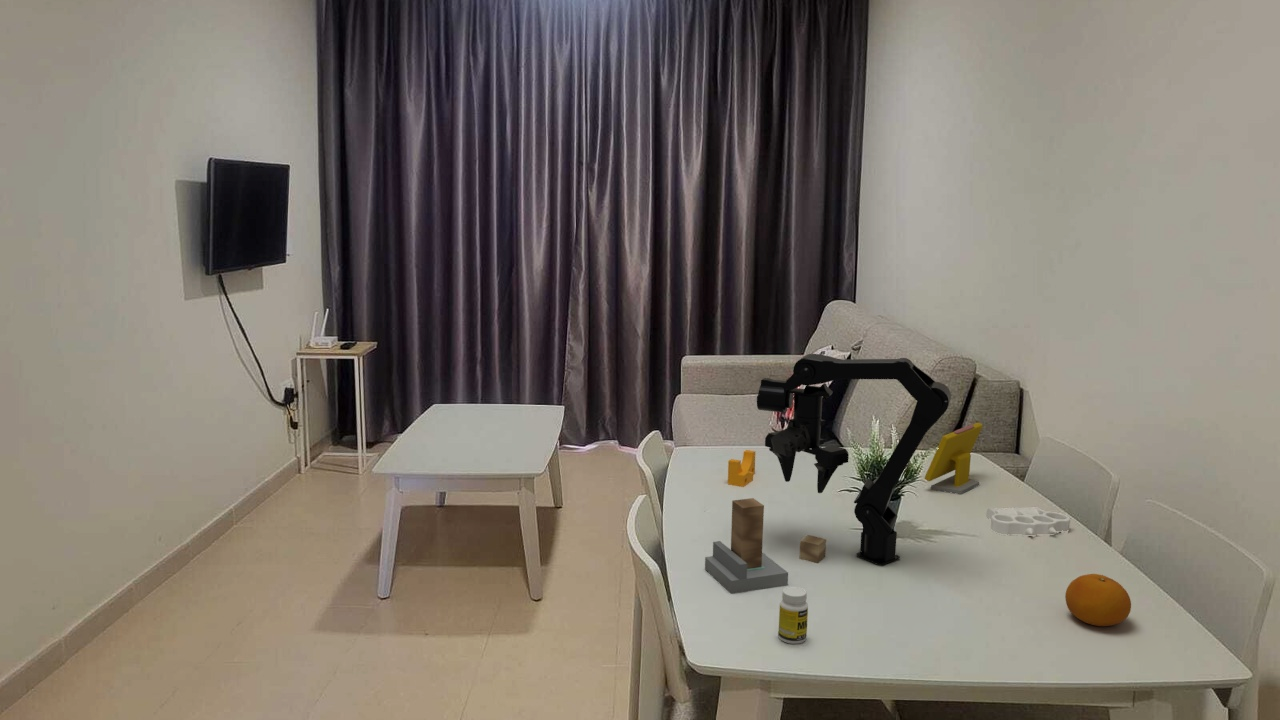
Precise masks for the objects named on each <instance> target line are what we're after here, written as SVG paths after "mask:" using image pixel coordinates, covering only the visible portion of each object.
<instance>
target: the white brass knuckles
mask: <svg viewBox="0 0 1280 720" xmlns="http://www.w3.org/2000/svg"><path fill="white" fill-rule="evenodd" d="M985 513H986V514H985V515H986V517H987V519H988V518H990V519H991V520H990V528H991V529H992V530H993V531H995V532H997V533H1001V534H1007V535H1008V534H1022V535H1037V534H1055V533H1057V532H1056V531H1062V530H1063V531H1067V530H1069V531H1070V527H1071V525H1070V524H1071V518H1070V517H1069V516H1068V515H1066V514H1064V513H1060V512H1055V511H1047V510H1043V509H1041V508H1040V507H1037V506H1031V507H1007V508H1005V507H1003V508H1000V507H999V508H996V507H990V508H987V509H986V512H985ZM991 529H990V530H991ZM993 531H992V532H993ZM997 533H996V534H997ZM1055 535H1056V534H1055Z"/></svg>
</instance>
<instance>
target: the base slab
mask: <svg viewBox="0 0 1280 720" xmlns="http://www.w3.org/2000/svg"><path fill="white" fill-rule="evenodd" d="M704 560H705V561H704V570H705V571H707V573H709V574H710V575H711V576H712V577H713V578H714V579H715V580H716V581H718V583H719V584H720V585H721V586H722V587H723V588H725V589H726V590H727V591H728V592H729V593H730V594H737V593H742V592H748V591H749V592H750V591H756V590H763V589H770V588H775V587H783V586H788V585H789V572H788V571H787V570H786V569H784V568H783V567H782V566H780V565H779V564H778V563H777V562H775V561H774V560H773V559H772V558H770V557H769V556H768V555H766V554H765V553H764V552H763V551H762V567H758V568H751V569H747V563H746V562H745V561H743V560H742V559H741V558H740V557H739V556H737V555H736V554H735V553H734V552H733V551H731V548H729V547H728V546H727V545H726V544H724V543H723V542H722V541H721V540H718V541H713V542H712V556H711V555H710V556H705V557H704Z"/></svg>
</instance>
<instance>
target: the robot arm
mask: <svg viewBox="0 0 1280 720" xmlns="http://www.w3.org/2000/svg"><path fill="white" fill-rule="evenodd" d="M792 372H793V373H792V374H791V375H790V376H789V377H788V378H787V379H786V380H778V379H773V378H769V377H767V378H766V377H763V378H762V379H761V380H760V386H759V389H758V394H757V396H756V407H757V410H759V411H763V412H764V411H768V412H775V413H787V410H789V409H792V406H793V416H792V417H793V418H789V420H788V421H787V427H786V428H785V429H782V430H777V431H774V432H768V433H767V434H766V437H765V438H764V446H765V448H766V447H767V448H768V451H770V452H772V453H773V454H774V455H775V456H776V457H777V460H778V462H779V464H780V467H781V468H780V469H781V471H782V475H783V478H784V482H787V483H788V482H790V481H791V478H792V475H793V471H794V470H793V469H794V465H795V460H796V455H797V453H800V452H804V453H807V454H810V455H813V456H814V458H815V460H816V462H815V463H813V465H814V467H815V468H816V470H817V484H816V488H817V493H818V494H822V493H823V492H824V490H825V489H826V488H827V487H826V486H827V485H828V483H829V482H830V480H831V478H832V476H833V474H834V473H835V471H836V470H837V469H838V467H841V466H843V465H844V464H847V463H849V455H850V453H849V451H848V450H847V449H846V448H844V447H841V446H837V445H833V444H832V445H827V446H824V447H822V446H821V445H824V444H825V439H824V438H821V429H822V426H823V427H824V426H826V420H825V419H822V410H823V408H822V407H823V398H829V397H830V396H831V395H832V394H833V392H834V391H833V390H832V389H831V388H829V387H828V385H827V383H828V382H833V381H838V380H897V381H898V383H900V384H901V386H902V387H903V388H904V389H905V390H906V391H907V392H908V394H909V395H910V396H911V397H912V398H913V399H914V400H916V401H917V402H916V404H915V406H914V410H913V413H912V415H911V419H910V422H909V424H908V426H907V428H906V429H905V431H904V432H903V434H902V437H901V438H900V439H899V441H898V443H897V445H896V447H894V449H893V452H892V453H891V455H890V456H889V459H888V460H887V462H886V463H885V464H884V467H883V469H882V471H881V472H880V473H879V475H878V477H877V478H875V480H874V481H873V480H871V479H870V478H867V479H866V481H865V483H864V484H863V486H862V488H861V491H859V492H858V494H857V496H856V497H855V499H854V501H853V503H854V504H856V505H855V506H854V515H855V518H856V519H857V521H859V522H860V523H861V524H862V531H861V533H860V549H859V550H860V552H857V553H855V554H856V556H855V557H858V558H859V559H863V560H865V561H867V562H870V563H873V564H876V565H878V566H884V565H886V564H890V563H893V562H895V561H898V560H900V559H901V556H900V555H897V554H896V553H897V552H896V551H897V549H896V547H897V534H898V532H897V531H895V530H894V526H895V523H896V521H897V519H898V515H897V513H896V512H895V511H894V510H893V509H892V508H891V506H889V503H890V500H891V498H892V495H893V491H894V488H895V486H896V484H898V481H899V479H900V478H901V476H902V474H903V472H904V471H905V469H906V467H907V466H908V464H909V462H910V460H912V458H913V455H914V454H915V453H916V450H917V449H918V447H919V445H920V444H921V442H922V440H923V439H924V437H925V435H926V434H927V432H929V430H930V429H931V428H932V427H933V426H935V424H936V423H937V422H938V421H939V419H941V417H942V416H943V415H944V414H945V413H946V412H947V410H948V407H949V405H950V403H951V401H952V394H951V393H952V392H951V390H950V389H949V387H948V386H947V385H946V384H945V383H943V382H937V381H935V380H934V379H933V378H932V377H931V376H930V375H928V374H927V373H926V372H925V371H924V370H922V369H920V368H919V367H918V366H916V365H915V364H914V363H913V362H912V361H911V360H910V359H909V358H907V357H900V358H877V359H876V358H868V359H867V358H864V359H863V358H862V359H860V358H859V359H857V358H855V359H853V358H852V359H843V358H836V357H833V356H830V355H825V354H818V353H808V354H806V355H804V356H803V357H801V358H800V359H798V360H797V361H796V362H795V363H794V366H793V371H792ZM820 384H822V385H821V386H817V385H820ZM815 385H816V386H815ZM800 386H805V387H804V388H798V387H800Z"/></svg>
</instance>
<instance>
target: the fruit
mask: <svg viewBox="0 0 1280 720" xmlns="http://www.w3.org/2000/svg"><path fill="white" fill-rule="evenodd" d="M1064 598H1065V603H1066V607H1067V609H1068V610H1069V612H1071V614H1072V615H1073V616H1074V617H1076V618H1077V619H1078V620H1080V621H1081V622H1083V623H1086V624H1088V625H1093V626H1097V627H1109V626H1114V625H1117V624H1121V623H1122V622H1124V621H1125V620H1126V619H1127V618H1128V617H1129V615H1130V613H1131V609H1132V600H1131V597H1130V595H1129V594H1128V592H1127V590H1126V589H1125V588H1124V587H1123V585H1122V584H1120V583H1119V582H1118V581H1116V580H1115V579H1113V578H1111V577H1108V576H1107V575H1103V574H1100V573H1099V574H1097V573H1089V574H1088V573H1087V574H1083V575H1080V576H1078V577H1076V578H1075V579H1073V580H1072V581H1071V582H1070V583H1069V584H1068V586H1067V587H1066V590H1065V597H1064Z"/></svg>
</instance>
